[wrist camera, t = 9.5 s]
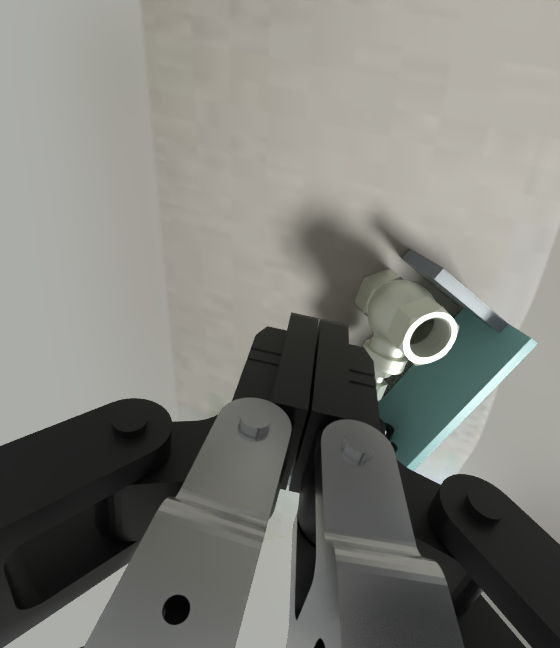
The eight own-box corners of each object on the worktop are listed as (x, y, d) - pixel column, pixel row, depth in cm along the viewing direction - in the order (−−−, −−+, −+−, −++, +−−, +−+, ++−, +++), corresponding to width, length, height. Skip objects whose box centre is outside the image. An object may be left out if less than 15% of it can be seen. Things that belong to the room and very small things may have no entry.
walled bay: (409, 248, 28) (464, 280, 22) (476, 305, 31) (537, 343, 26) (255, 437, 32) (271, 500, 27) (329, 467, 35) (356, 529, 30)
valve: (347, 256, 27) (296, 404, 32) (394, 295, 21) (323, 468, 26) (429, 274, 29) (370, 410, 34) (492, 314, 23) (411, 471, 28)
